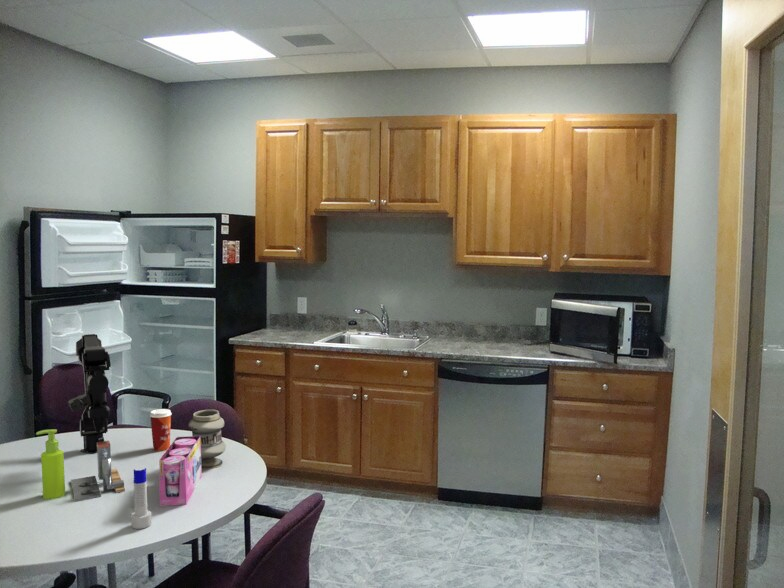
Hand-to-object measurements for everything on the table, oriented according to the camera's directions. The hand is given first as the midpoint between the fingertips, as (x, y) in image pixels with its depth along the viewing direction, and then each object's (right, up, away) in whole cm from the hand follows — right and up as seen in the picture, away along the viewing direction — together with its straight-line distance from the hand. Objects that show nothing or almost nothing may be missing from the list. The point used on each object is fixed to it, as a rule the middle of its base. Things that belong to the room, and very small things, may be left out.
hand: (98, 432), depth 218 cm
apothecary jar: (+36, -12, +4) cm, 38 cm away
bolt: (+31, -16, -44) cm, 56 cm away
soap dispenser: (-3, -14, -23) cm, 28 cm away
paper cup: (+14, -11, +20) cm, 27 cm away
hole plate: (+5, -14, -18) cm, 23 cm away
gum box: (+34, -14, -19) cm, 42 cm away
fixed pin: (+13, -14, -19) cm, 27 cm away
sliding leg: (+9, -13, -14) cm, 21 cm away
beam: (+11, -13, -12) cm, 21 cm away
